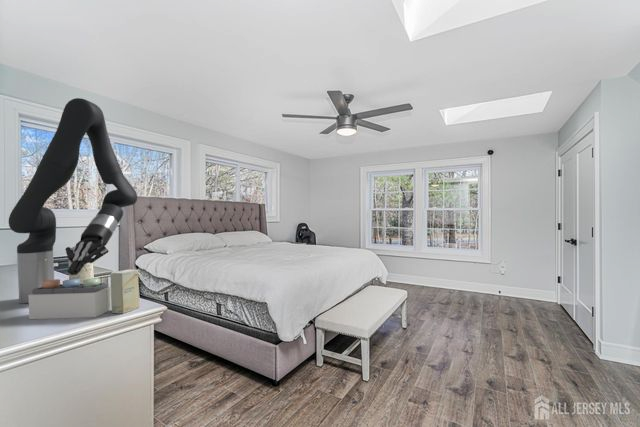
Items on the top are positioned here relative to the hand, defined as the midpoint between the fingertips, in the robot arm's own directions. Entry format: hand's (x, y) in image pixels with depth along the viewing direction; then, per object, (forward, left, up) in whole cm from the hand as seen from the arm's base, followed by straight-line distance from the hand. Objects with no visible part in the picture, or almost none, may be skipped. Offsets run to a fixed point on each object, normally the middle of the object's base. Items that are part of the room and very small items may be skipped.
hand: (72, 273), depth 88 cm
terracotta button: (-6, -3, -4) cm, 7 cm away
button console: (0, 0, -12) cm, 12 cm away
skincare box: (+12, +8, -12) cm, 19 cm away
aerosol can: (-17, +11, -12) cm, 24 cm away
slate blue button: (0, 0, -4) cm, 4 cm away
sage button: (+5, +2, -4) cm, 7 cm away
